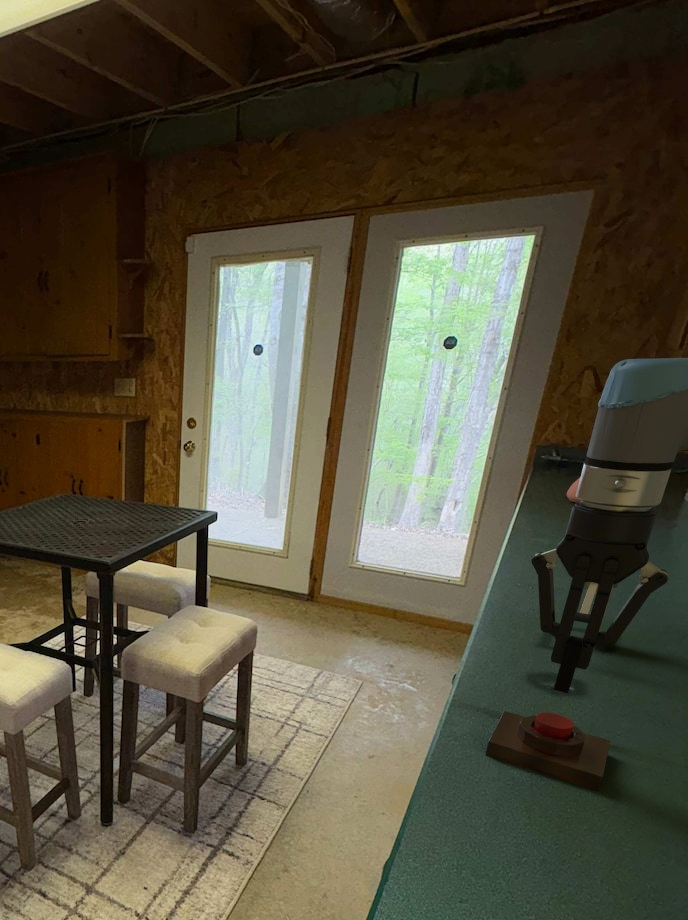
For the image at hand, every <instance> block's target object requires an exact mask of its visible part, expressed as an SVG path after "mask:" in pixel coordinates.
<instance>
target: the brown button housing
mask: <svg viewBox="0 0 688 920" xmlns="http://www.w3.org/2000/svg"><path fill="white" fill-rule="evenodd" d="M536 716H537V714H535V715H534V714H532V715H528V716H525V715H524V716H523V715H520V714H516V713H514V712H510V711H505V710H504V711H503V712H502V714H501V717H500V719H499V721H498V723H497V724H496V726H495V728H494V729H493V732H492V734H491V735H490V738H489V740H488V741H487V746H486V750H485V754H484V755H485V756H487V757H490V758H493V759H496V760H499V761H502V762H505V763H509V764H511V765H515V766H517V767H520V768H524V769H526V770H531V771H532V772H536V773H538V774H539V773H540V774H543V775H545V776H549V777H551V778H555V779H557V780H561V781H564V782H567V783H570V784H573V785H577V786H579V787H582V788H586V789H588V790H592V791H595V792H599V790H600V787H601V784H602V781H603V778H604V773H605V769H606V764H607V760H608V754H609V750H610V744H611V740H609V739H606V738H603V737H599V736H595V735H592V734H588V733H586V732H585V733H584V732H583V731H582V729H580V727H578V726H576V725H574V727H573V731H572V734H571V737H570V738H569V739H566V740H565V739H555V738H551V737H548V736H544V735H542V734H541V733H539V732H537V731H535V730H534V723H535V719H536Z"/></svg>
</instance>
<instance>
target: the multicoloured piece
mask: <svg viewBox="0 0 688 920" xmlns="http://www.w3.org/2000/svg"><path fill="white" fill-rule="evenodd" d="M598 586H599V584H596V583H594V582H586V583H585V586H584V590H586V594H585V596H584V599H583V602H582V605H581V608H580V611H577V614H576V617H575V621H574V622H578V623H579V622H580V623H584V624H588V621H589V618H590V614H591V613H590V612H591V609H592V606H593V603H594V600H595V597H596V594H597V590H598ZM601 624H602V625H603V623H601Z"/></svg>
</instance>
